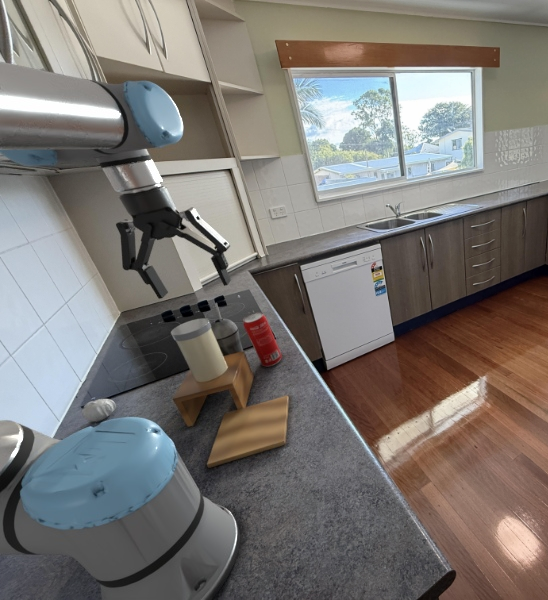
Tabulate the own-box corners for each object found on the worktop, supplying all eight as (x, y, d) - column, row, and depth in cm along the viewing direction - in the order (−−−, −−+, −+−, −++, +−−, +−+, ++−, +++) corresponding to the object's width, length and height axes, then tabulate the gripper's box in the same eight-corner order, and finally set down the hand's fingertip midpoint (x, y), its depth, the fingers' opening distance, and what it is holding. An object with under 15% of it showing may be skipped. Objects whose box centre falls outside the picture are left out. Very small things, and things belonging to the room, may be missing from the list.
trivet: (285, 444, 61) (284, 440, 61) (208, 468, 58) (206, 464, 58) (289, 398, 74) (287, 395, 73) (226, 416, 71) (224, 412, 70)
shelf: (244, 411, 72) (232, 383, 68) (187, 427, 69) (172, 399, 66) (253, 375, 84) (243, 350, 81) (205, 388, 82) (193, 363, 79)
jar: (224, 377, 71) (203, 329, 66) (189, 386, 69) (164, 338, 64) (231, 360, 78) (212, 315, 72) (199, 368, 76) (178, 323, 71)
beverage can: (285, 354, 92) (270, 309, 86) (275, 368, 86) (258, 320, 80) (266, 355, 93) (250, 311, 87) (255, 369, 87) (237, 322, 81)
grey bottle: (218, 375, 87) (189, 311, 78) (237, 360, 93) (212, 299, 85) (239, 377, 84) (211, 311, 76) (257, 361, 90) (233, 299, 82)
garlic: (86, 430, 73) (74, 413, 71) (89, 418, 77) (77, 401, 75) (118, 416, 76) (107, 399, 74) (119, 405, 80) (109, 389, 78)
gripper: (217, 174, 62) (257, 270, 72) (84, 197, 60) (145, 293, 70) (203, 180, 55) (249, 285, 66) (53, 206, 53) (126, 309, 64)
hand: (196, 289), depth 68 cm, fingers open, 13 cm apart
